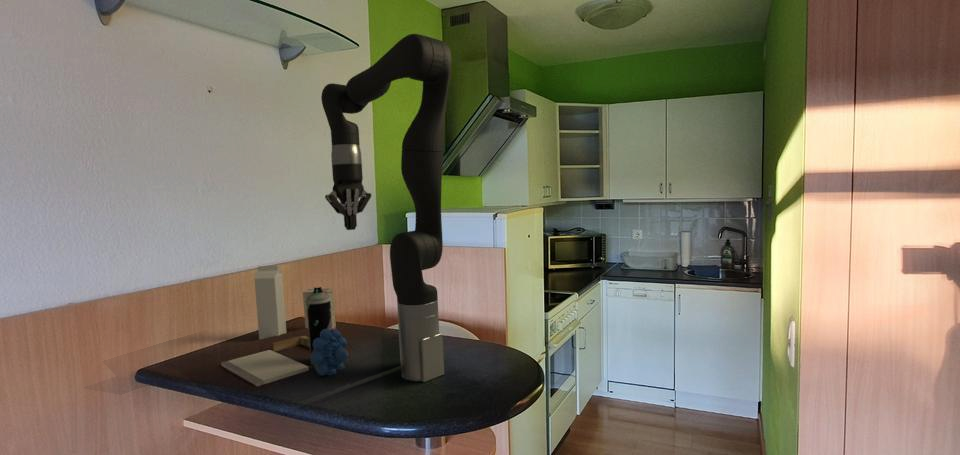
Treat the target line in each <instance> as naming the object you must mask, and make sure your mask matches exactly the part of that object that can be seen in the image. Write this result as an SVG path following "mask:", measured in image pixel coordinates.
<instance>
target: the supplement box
mask: <svg viewBox="0 0 960 455" xmlns="http://www.w3.org/2000/svg"><path fill="white" fill-rule="evenodd" d="M321 289H322V291H323V292H324V293H325V294H327V295H329V296H330V297H329V298H330V304H331V319H332V329H337V325H336V312H335V301H334V300H335V298H334V297H335V296H334V288H332V287H329V288H321ZM313 291H314V288H307V289H305V290H304V291H302V299H303V302H302V303H303V313H304V314H303V315H304V324H305V329H309V328H308V314H307V297H309V296H310V295H312V293H313Z"/></svg>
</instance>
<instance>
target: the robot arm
mask: <svg viewBox="0 0 960 455" xmlns="http://www.w3.org/2000/svg"><path fill="white" fill-rule="evenodd" d="M452 62H453V61H452V52H451V49H450V47H449V46H448V44H447V43H446V42H444V41H443V40H440V39H436V38H433V37H429V36H427V35H423V34H418V33H410V34H407V35H405V36H404V37H402V38H400V40H399V41H397V42H396V43H395V44H394V45H393V46H392V47H391V48H390V49H389V50H388V51H387V52H386V53H385V54H383V55H382V57H380V58H379V59H378V60H377V61H376V62H375V63H374V64H373V65H371V66H370V67H368V68H366V69H365V70H362V71H361V72H359V73H357V74H355V75H354V76H352V77H351V78H350V79H348V81H347V82H346V84H339V83H334V82H332V83H327V84H326V85H325V86H324V88H323V89H322V92H321V96H320V97H321V104H322V108H323V112H324V113H325V116H326V119H327V123H328V126H329V129H330V137H331V138H330V139H331V152H330V153H331V155H330V156H331V157H330V158H331V169H332V170H331V171H332V182H333V187H332V191H331V192H330V193H329V194H325V195H324V196H325V197H324V198H325V200H326V201H327V202H328V203H329V205H330V206H331V207H332V208H333V209H334V211H335V212H336V213H337V214H340V215H342V216H343V223H344V224H343V225H344V228H345V229H346V230H347V231H354V230H356V228H357V226H358V223H357V222H358V221H357V215H358V214H359V213H360V214H361V213H363V211H364V210H365V208H366V206H367V205H368V203H369V201H370V199H371V197H372V193H370V192H367V191H366V190H365V187H364V185H363V179H364V177H363V162H362V161H363V160H362V159H363V158H362V151H361V147H360V130H359V126H358V124H357V123H355V122H353V121H350V120H348V119H347V118H346V117H345V115H344V114H349V115H352V114H353V115H355V114H358V113H360V112H362V111H363V110H364V109H365V108H366V107H367V106H368V104H369V103H372V102H373V101H375V100H377V99H380V98H381V97H383V96H384V95H385V94H386V93H387V92H388V91H389V89H390V87H391V84H392V82H393V81H396V80H400V79H407V78H408V79H411V80H413V81H419V82H422V92H421V93H422V94H421V101H420V106H419V107H418V108H419V109H418V110H417V113H416V115H415V117H414V118H413V120H412V121H411V123H410V125H409V127H408V128H407V130H406V132H405V134H404V136H403V139H402V143H401V156H400V157H401V158H400V159H401V160H400V163H401V164H400V168H401V175H402V178H403V181H404V184H405V186H406V189H407V191H408V193H409V195H410V197H411V199H412V202H413V205H414V211H415V226H414V230H409V231H402V232H400V233H397V234H395V235H394V237H393V238H392V239H391V243H390V246H389V262H390V270H391V271H390V272H391V278H392V287H393V290H394V292H395V296H396V302H397V305H396V306H397V321H398V322H397V323H398V341H399V342H398V344H399V357H400V376H401V378H403V379H404V380H407V381H412V382H422V383H425V382H428V381H430V380H434V379H436V378H438V377H440V376H442V375H445V365H444V364H445V363H444V342H443V341H444V340H443V339H444V338H443V334H442V333H440V322H439V321H440V319H439V318H440V317H439V301H438V298H439V297H438V295H439V294H438V289H437V288H436V286H434V285H432V284H427V283H426V282H425V281H424V275H423V271H425V270H429V269H433V268H435V267H436V266H437V265H438V264H439V263H440V261H441V259H442V255H443V250H444V249H443V248H444V247H443V246H444V243H443V242H444V240H443V226H442V225H443V224H442V179H443V178H442V176H443V170H444V169H443V166H444V147H445V146H444V141H445V140H444V139H445V136H444V135H445V126H446V125H445V122H446V111H447V101H448V94H449V88H450V81H451V73H452Z"/></svg>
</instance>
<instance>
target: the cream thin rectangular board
mask: <svg viewBox="0 0 960 455" xmlns="http://www.w3.org/2000/svg"><path fill="white" fill-rule="evenodd" d="M220 364H221V367H222V368H224V369H226V370H228V371H229V372H231V373H233V374H235V375H237V376H238V377H240V378H242V379H243V380H245V381H247V382H249V383H251V384H252V385H254V386H256V387H260V386H262V385H267V384H270V383H272V382H276V381H279V380H282V379H286V378H288V377H291V376H295V375H298V374H301V373H305V372H308V371H309V370H310V368H309V366H308V365H305V364H304V363H301V362H298V361H296V360H294V359H292V358H290V357H287V356H285V355H284V354H283V355H282V354H280V353H278V352H277V351H272V349H268V350H263V351H260V352H257V353H253V354H249V355H245V356H240V357H237V358H233V359H229V360H225V361H221V363H220Z"/></svg>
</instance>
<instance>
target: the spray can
mask: <svg viewBox="0 0 960 455" xmlns="http://www.w3.org/2000/svg"><path fill="white" fill-rule="evenodd" d="M313 289H314V291H313V293H312V295H310V296H309V297H307V314H308V328H307V329H308V337H309V342H310V347H309V353H310V357H311V355H312V354H313V353H314V352H315V351H317V350H315V349H314V347H313V341H314V340H315V339H316V338H320V332H321V331H322V330H323V329H328V330H332V319H331V304H330V298H329V297H330V296H329V295H327V294H325V293H324V292H323V291H322V289H323V288H322V286H318V287H313ZM310 365H313V366H314V363H313V362H312V360H311V359H310Z"/></svg>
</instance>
